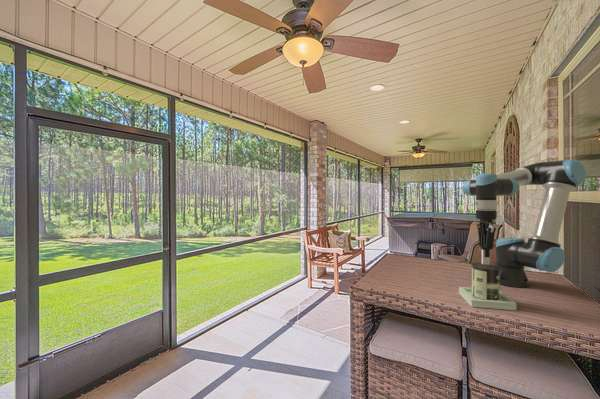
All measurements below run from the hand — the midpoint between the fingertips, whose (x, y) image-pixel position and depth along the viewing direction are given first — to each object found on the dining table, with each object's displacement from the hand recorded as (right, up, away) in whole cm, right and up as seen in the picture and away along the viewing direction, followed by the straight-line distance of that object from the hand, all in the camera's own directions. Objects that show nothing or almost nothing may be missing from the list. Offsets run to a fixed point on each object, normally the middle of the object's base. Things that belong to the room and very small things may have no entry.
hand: (485, 264), depth 119 cm
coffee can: (0, -15, +1) cm, 15 cm away
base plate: (0, -16, 0) cm, 16 cm away
